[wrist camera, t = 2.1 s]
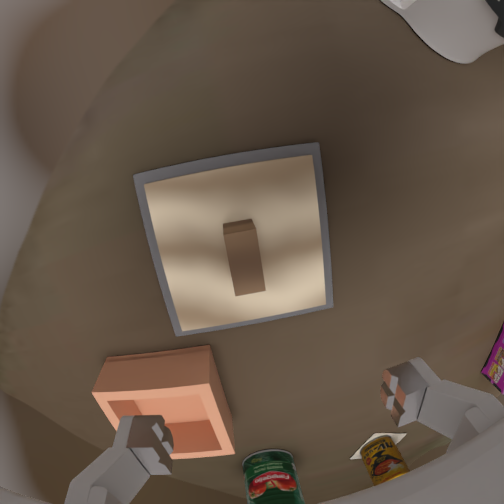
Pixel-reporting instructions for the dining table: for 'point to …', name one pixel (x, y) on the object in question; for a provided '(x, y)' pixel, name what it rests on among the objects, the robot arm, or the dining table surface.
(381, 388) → the robot arm
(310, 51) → the dining table surface
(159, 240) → the lid
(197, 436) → the rectangular open box
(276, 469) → the canned tomato
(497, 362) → the candy bar box
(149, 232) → the mat
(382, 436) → the condiment
